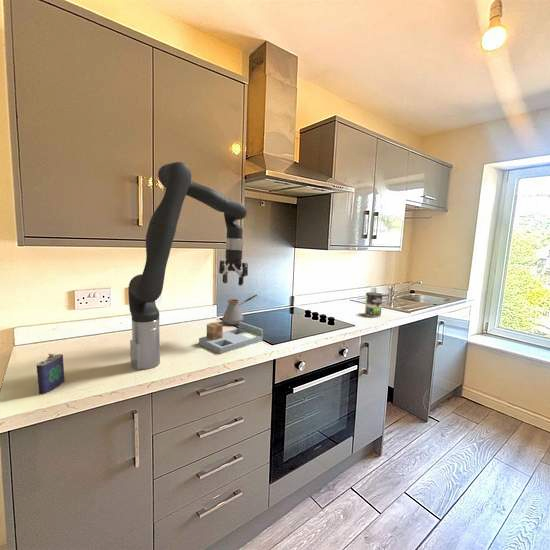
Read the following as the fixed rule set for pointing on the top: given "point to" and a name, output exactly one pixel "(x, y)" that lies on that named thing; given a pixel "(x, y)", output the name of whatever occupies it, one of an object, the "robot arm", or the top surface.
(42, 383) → the flask
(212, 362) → the top surface
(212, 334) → the block
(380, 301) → the coffee can
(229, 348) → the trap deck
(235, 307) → the coffee pot
